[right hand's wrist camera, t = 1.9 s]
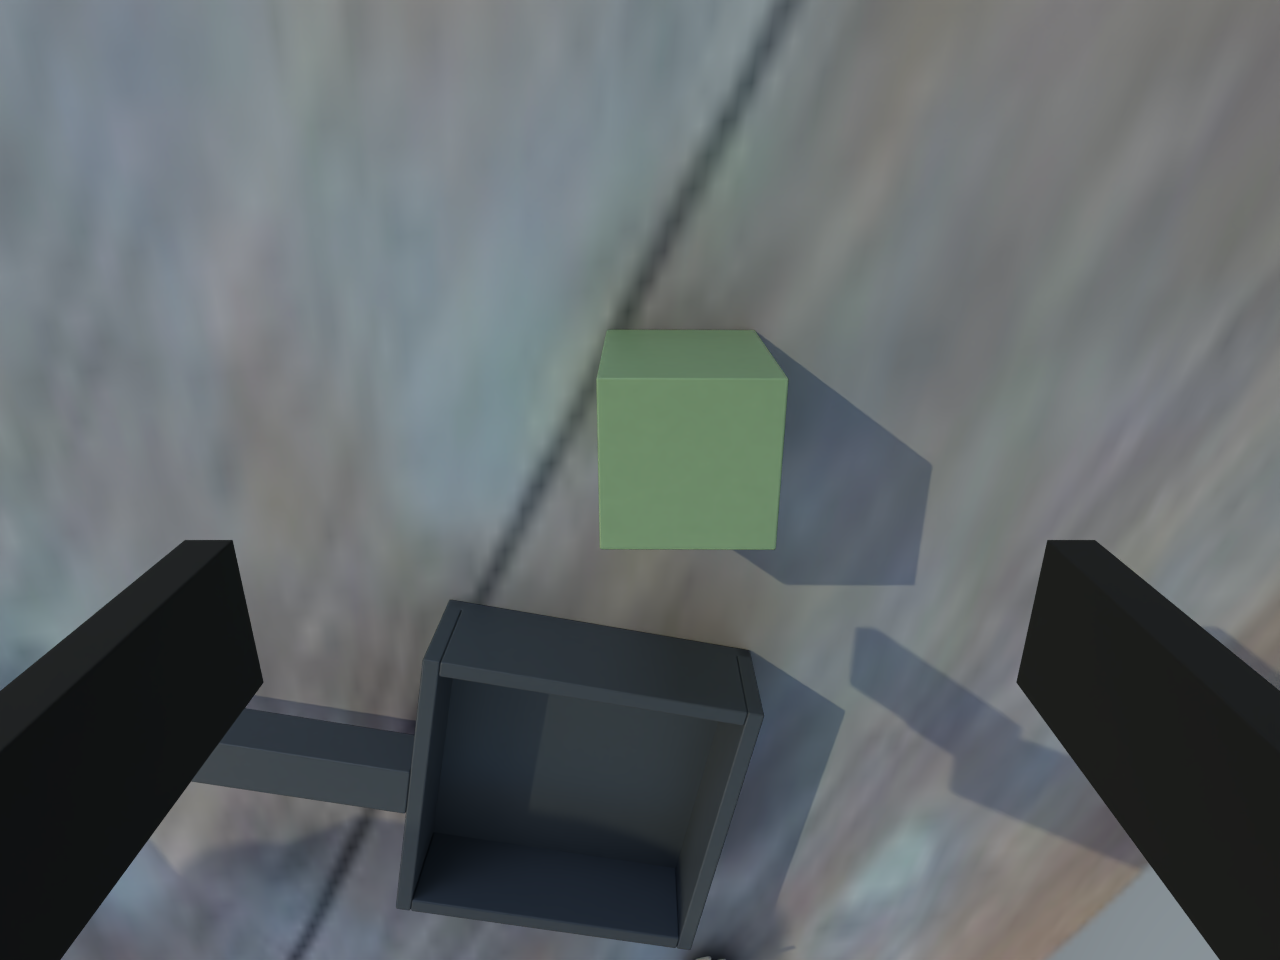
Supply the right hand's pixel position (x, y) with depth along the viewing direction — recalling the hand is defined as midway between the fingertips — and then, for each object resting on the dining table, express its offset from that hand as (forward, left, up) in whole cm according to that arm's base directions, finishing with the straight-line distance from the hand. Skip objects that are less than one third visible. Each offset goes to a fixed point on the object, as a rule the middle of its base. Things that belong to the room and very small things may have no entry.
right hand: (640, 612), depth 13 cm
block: (-1, +1, -15) cm, 15 cm away
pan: (+9, +15, -15) cm, 23 cm away
